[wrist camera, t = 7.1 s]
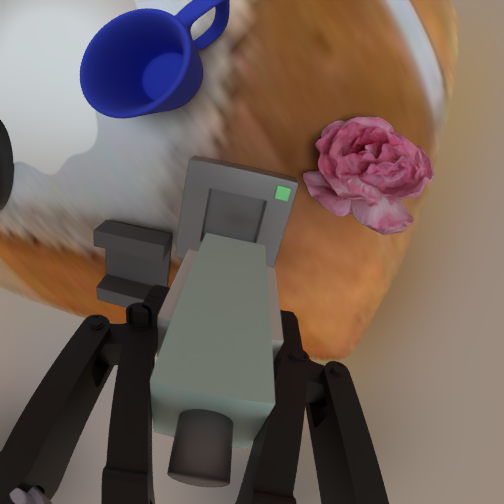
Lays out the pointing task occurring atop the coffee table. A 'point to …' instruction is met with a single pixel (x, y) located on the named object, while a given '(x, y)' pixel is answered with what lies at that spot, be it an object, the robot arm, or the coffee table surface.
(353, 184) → the flower
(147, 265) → the holster
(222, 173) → the port
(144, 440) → the robot arm
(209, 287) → the plug
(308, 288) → the coffee table surface
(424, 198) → the coffee table surface
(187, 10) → the mug
